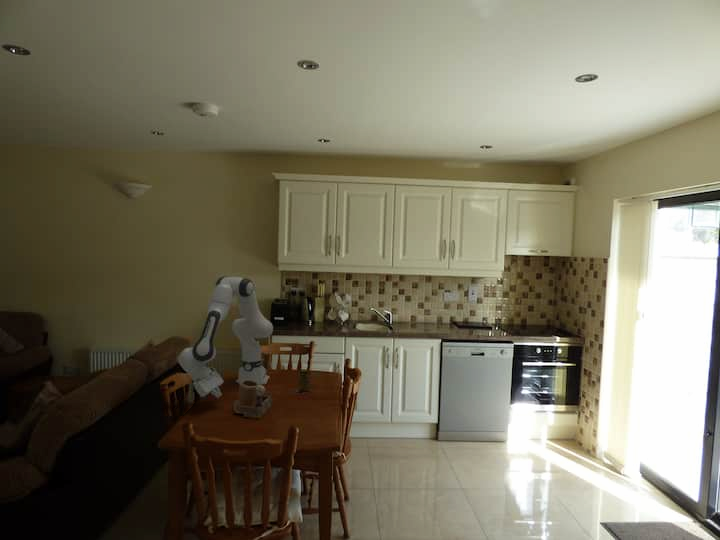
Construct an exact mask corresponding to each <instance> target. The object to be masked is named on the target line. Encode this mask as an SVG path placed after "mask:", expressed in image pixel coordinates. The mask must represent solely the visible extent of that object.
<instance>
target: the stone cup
mask: <svg viewBox="0 0 720 540" xmlns="http://www.w3.org/2000/svg"><path fill="white" fill-rule="evenodd" d="M258 386H259V384H258V383H257V382H255V381H252V380H244V381H242V382H241V383H240V384H239V386H238V387H239V388H238V397H239V399H236V400H235V401H234V404H233V411H234V413H236V414H243V410H244V406H250V407H255V404H254V402H255V399H256V398H257V395H258V394H257V393H256V388H257V387H258Z"/></svg>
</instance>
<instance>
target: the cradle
mask: <svg viewBox="0 0 720 540" xmlns="http://www.w3.org/2000/svg"><path fill="white" fill-rule="evenodd" d="M265 392H266V387H265V386H263V384H262V385H259V386H258V387H257V388H256V393H257V395H256V406H254V407H250V406H244V410H243V418H245V417H248V418H247V419H257V418H259V419H261V418H262V416H264V414H265V413H267V411H268V410H269V409H270V408H272V406H273V398H274V397H273V395H266V394H265ZM264 394H265V395H264Z"/></svg>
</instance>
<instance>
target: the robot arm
mask: <svg viewBox="0 0 720 540" xmlns="http://www.w3.org/2000/svg"><path fill="white" fill-rule="evenodd" d="M233 297H235V298H236V301H237V306H238V311H239V313H240V315H241V316H242V318H236V319H235V320H234V321H233V322H232V325H231V330H232V333H233V334H234V335H235V336H236V337H237V338H238V340H239V341H240V344H241V349H242V350H241V351H242V352H241V355H242V358H241V365H240V366H241V367H239V369H238V379H236V380H235V383H238V384H239V385H240V383H241V382H242V381H244V380H252V381H255V382H257V383H258V384H259V385H262V386H263V385H266V384H267V383H268V382H269V380H268V379H270V376H269V375H267V370H266V368H265V367H264V366H263V362H264V358H263V357H262V346H261V345H260V344H259V343H258V342H257V341H256V340H255V338H257V339H265V338H270V337H271V335H272V334H273V331H274V326H273V323H272V322H271V321H270V320H268V319H267V318H266V317H265V316H264V315H263V314H262V312H261V310H260V308H259V303H258V300H257V299H258V298H257V295H256V291H255V284H254V283H253V281H252V280H251V279H249V278H247V277H240V276H221V277H219V278H218V279H217V281H216V282H215V287H214V289H213V291H212V294H211V296H210V299H209V302H208V306H207V312H206V317H205V318H206V319H205V322H204V325H203V329H202V331H201V332H202V333H201V335H200V338H199V339H198V340H197V342H196V343H195V344H194V345H193V346H192V347H185V348H184V349H182V351H180V353H179V355H178V356H177V362H178V363H179V365H180V366H181V368H182V369H183V370H184V371H185V372H186V373H188V374H189V377H190V378H191V379H192V381H193V386H194V389H195V391H196V392H197V393H198V394H199V396H200V397H202V398H204V397H206V396H207V395H208V394H211V395H213V396H215V397H216V398H217V399H219V398H220V397H222V395H223V393H222V392H221V391H220V388H219V387H221V386H222V385H223V384H224V379H223V377H222V376H221V375H220V374H219V373H218V372H217V371H216V369H215V368H214V367H210V366H209V367H208V366H207V365H206V363H209V362H211V361H213V360H214V359H215V357H216V354H217V350H216V349H217V348H216V347H215V345H214V340H215V336H216V332H217V331H218V327H219V325H220V323H221V322H223V321H225V320H226V318H227V316H228V314H229V311H230V309H231V305H232V300H233ZM267 381H268V382H267Z"/></svg>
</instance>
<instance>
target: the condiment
mask: <svg viewBox="0 0 720 540" xmlns="http://www.w3.org/2000/svg"><path fill="white" fill-rule="evenodd" d="M309 388H310V375H309V370H308V369H300V370H299V373H298V388H297V389H295V390H294V391H295V392H297V393H300V394H303V395H305V393H301V392H308V390H310V389H309ZM296 390H298V391H296Z"/></svg>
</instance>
